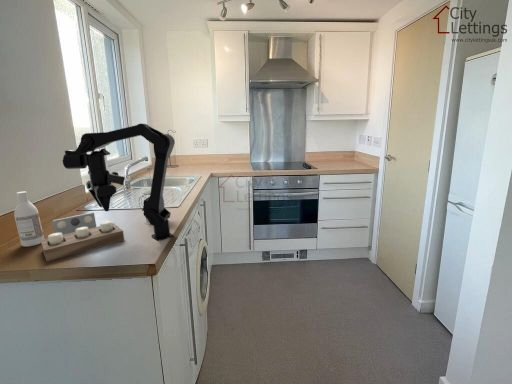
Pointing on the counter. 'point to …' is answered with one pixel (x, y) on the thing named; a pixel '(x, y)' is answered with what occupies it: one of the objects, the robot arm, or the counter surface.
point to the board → (81, 242)
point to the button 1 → (55, 238)
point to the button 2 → (106, 226)
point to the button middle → (82, 232)
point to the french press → (146, 192)
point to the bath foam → (27, 221)
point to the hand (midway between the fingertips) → (104, 209)
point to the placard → (74, 223)
